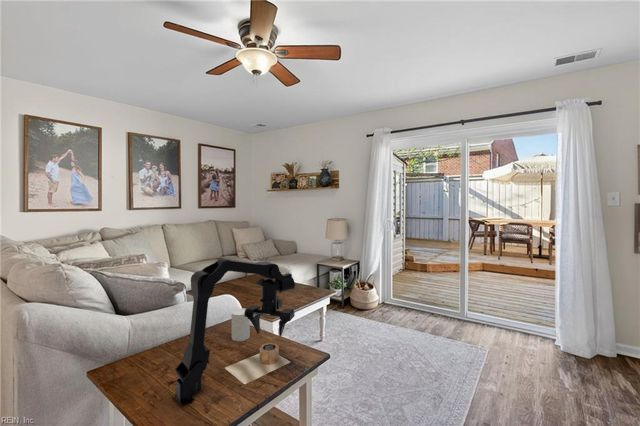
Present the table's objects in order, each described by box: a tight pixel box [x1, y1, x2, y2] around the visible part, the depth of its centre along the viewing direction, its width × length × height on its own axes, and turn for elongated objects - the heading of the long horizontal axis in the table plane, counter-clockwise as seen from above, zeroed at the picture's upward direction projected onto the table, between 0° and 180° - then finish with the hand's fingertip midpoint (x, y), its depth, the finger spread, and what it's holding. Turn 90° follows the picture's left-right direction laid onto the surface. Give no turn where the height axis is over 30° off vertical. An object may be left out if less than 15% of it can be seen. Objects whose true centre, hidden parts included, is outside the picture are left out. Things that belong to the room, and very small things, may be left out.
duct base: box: [224, 345, 291, 385], centre depth 112 cm, size 20×14×6 cm
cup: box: [231, 308, 251, 342], centre depth 137 cm, size 8×8×12 cm
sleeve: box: [259, 342, 280, 365], centre depth 115 cm, size 7×7×5 cm
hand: (269, 334), depth 115 cm, fingers open, 9 cm apart
